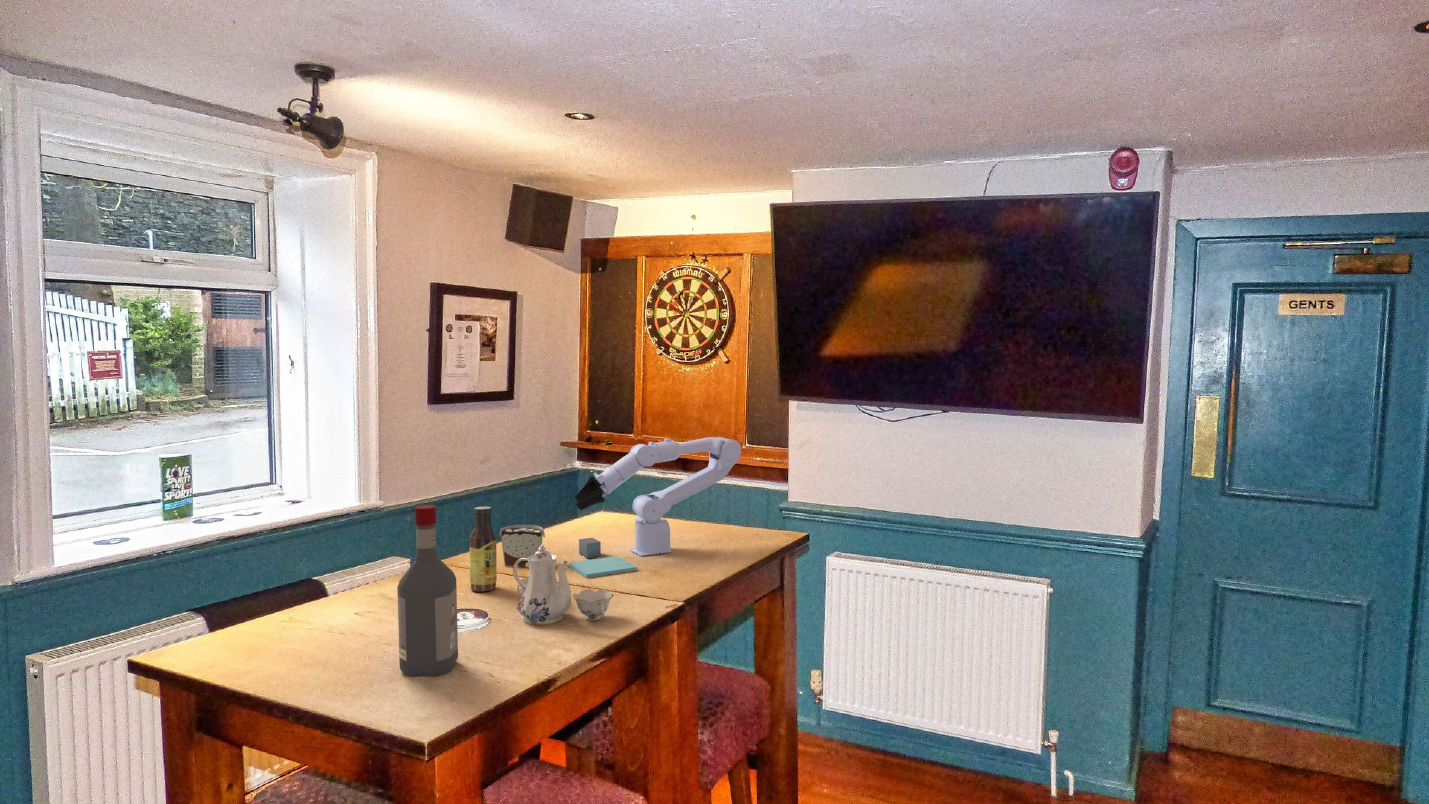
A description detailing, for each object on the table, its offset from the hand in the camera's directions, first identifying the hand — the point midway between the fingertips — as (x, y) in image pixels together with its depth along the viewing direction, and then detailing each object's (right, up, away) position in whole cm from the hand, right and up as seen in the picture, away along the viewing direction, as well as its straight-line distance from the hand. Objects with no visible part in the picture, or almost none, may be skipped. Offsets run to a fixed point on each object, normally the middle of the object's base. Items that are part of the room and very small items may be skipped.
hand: (577, 504), depth 237 cm
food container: (-13, -16, -3) cm, 21 cm away
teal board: (+8, -16, -8) cm, 20 cm away
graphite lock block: (+3, -15, +5) cm, 16 cm away
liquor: (-15, -21, -76) cm, 81 cm away
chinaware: (+2, -19, -46) cm, 50 cm away
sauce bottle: (-18, -18, -27) cm, 37 cm away
